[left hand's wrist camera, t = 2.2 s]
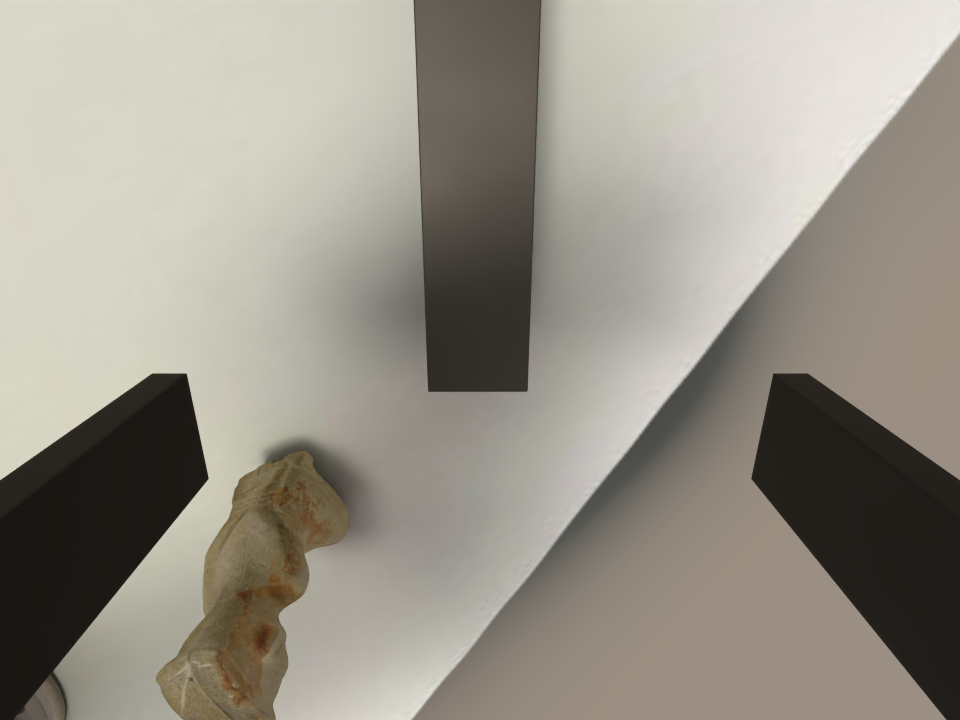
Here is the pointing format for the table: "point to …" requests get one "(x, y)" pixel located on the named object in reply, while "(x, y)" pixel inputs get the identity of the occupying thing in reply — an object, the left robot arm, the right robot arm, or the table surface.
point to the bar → (477, 187)
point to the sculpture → (253, 592)
